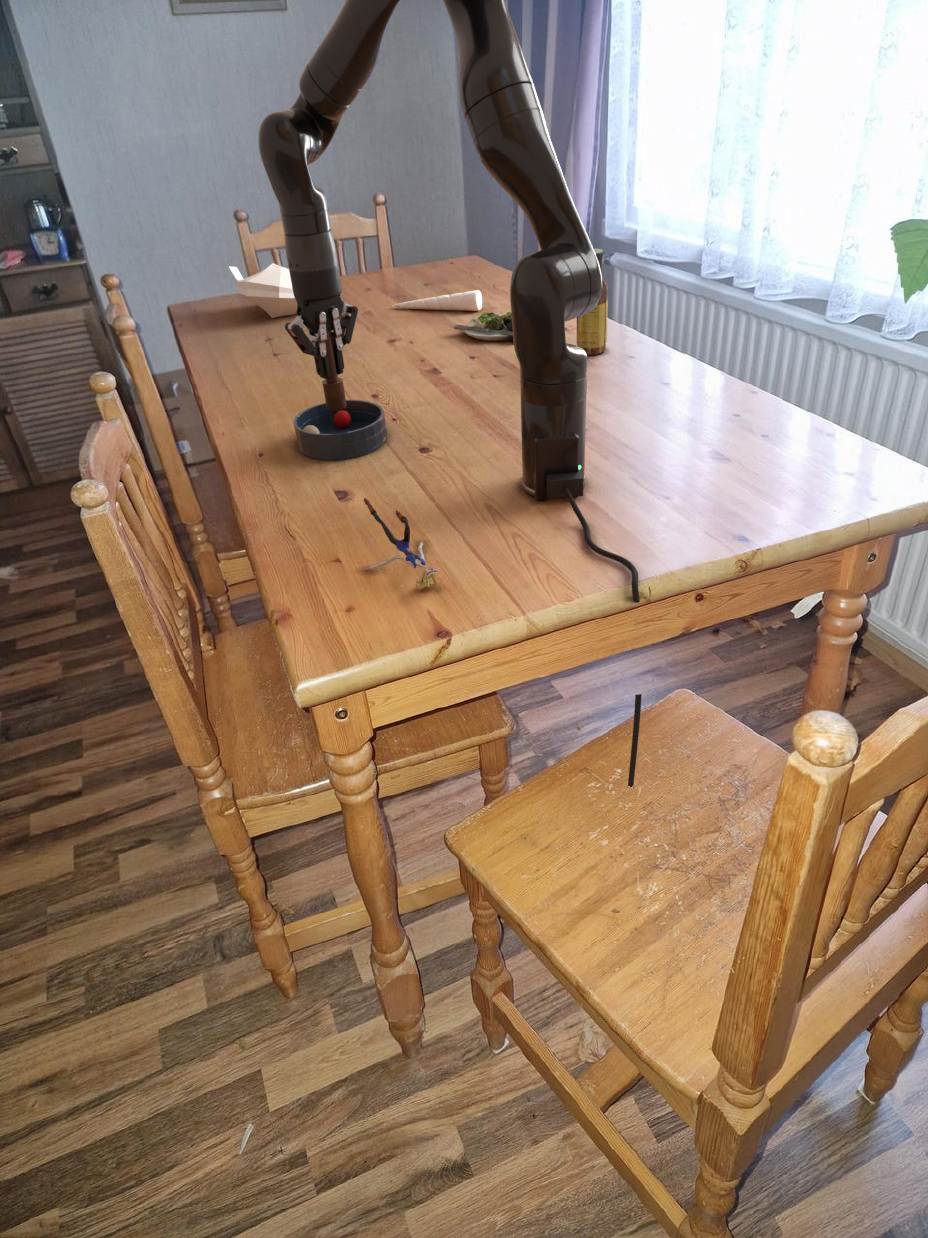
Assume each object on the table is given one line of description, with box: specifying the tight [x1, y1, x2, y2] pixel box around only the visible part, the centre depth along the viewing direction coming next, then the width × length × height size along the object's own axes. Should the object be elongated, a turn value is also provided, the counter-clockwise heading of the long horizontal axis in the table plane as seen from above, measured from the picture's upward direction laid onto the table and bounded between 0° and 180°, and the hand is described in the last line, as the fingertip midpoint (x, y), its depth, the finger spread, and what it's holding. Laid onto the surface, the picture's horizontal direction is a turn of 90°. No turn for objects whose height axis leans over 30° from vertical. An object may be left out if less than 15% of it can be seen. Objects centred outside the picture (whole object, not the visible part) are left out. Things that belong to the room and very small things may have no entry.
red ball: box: [334, 410, 351, 428], centre depth 143 cm, size 3×3×3 cm
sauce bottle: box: [576, 248, 609, 356], centre depth 164 cm, size 7×6×20 cm
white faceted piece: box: [228, 262, 297, 319], centre depth 207 cm, size 25×24×12 cm
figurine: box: [363, 497, 439, 603], centre depth 104 cm, size 10×9×20 cm
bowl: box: [292, 399, 388, 461], centre depth 139 cm, size 15×15×4 cm
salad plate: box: [452, 311, 514, 342], centre depth 184 cm, size 19×18×5 cm
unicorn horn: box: [392, 289, 483, 312], centre depth 203 cm, size 5×24×5 cm, turn 68°
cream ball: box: [303, 425, 320, 434], centre depth 139 cm, size 3×3×3 cm
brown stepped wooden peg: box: [318, 331, 347, 411], centre depth 133 cm, size 3×3×14 cm
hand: (331, 374), depth 133 cm, fingers closed on brown stepped wooden peg, 2 cm apart
